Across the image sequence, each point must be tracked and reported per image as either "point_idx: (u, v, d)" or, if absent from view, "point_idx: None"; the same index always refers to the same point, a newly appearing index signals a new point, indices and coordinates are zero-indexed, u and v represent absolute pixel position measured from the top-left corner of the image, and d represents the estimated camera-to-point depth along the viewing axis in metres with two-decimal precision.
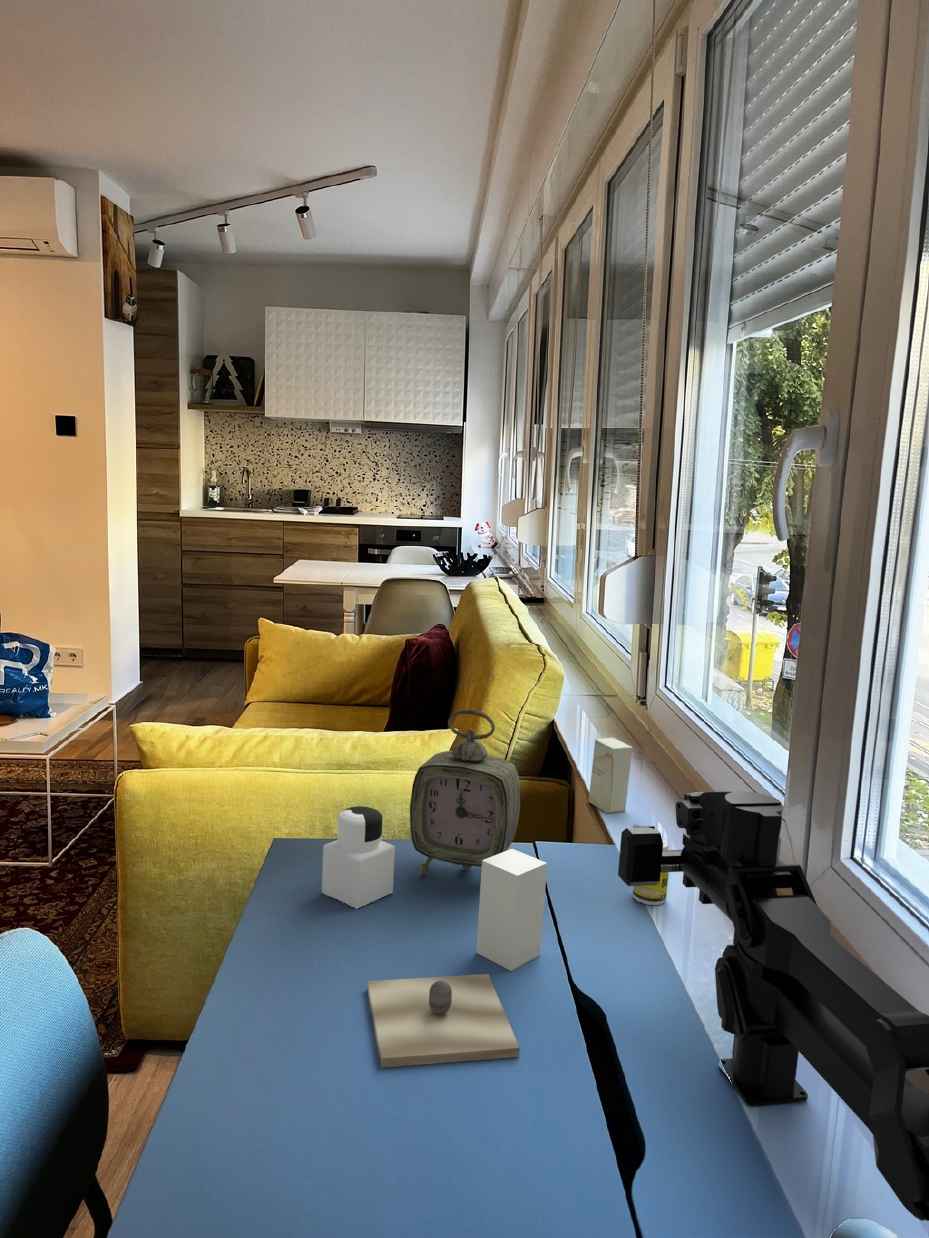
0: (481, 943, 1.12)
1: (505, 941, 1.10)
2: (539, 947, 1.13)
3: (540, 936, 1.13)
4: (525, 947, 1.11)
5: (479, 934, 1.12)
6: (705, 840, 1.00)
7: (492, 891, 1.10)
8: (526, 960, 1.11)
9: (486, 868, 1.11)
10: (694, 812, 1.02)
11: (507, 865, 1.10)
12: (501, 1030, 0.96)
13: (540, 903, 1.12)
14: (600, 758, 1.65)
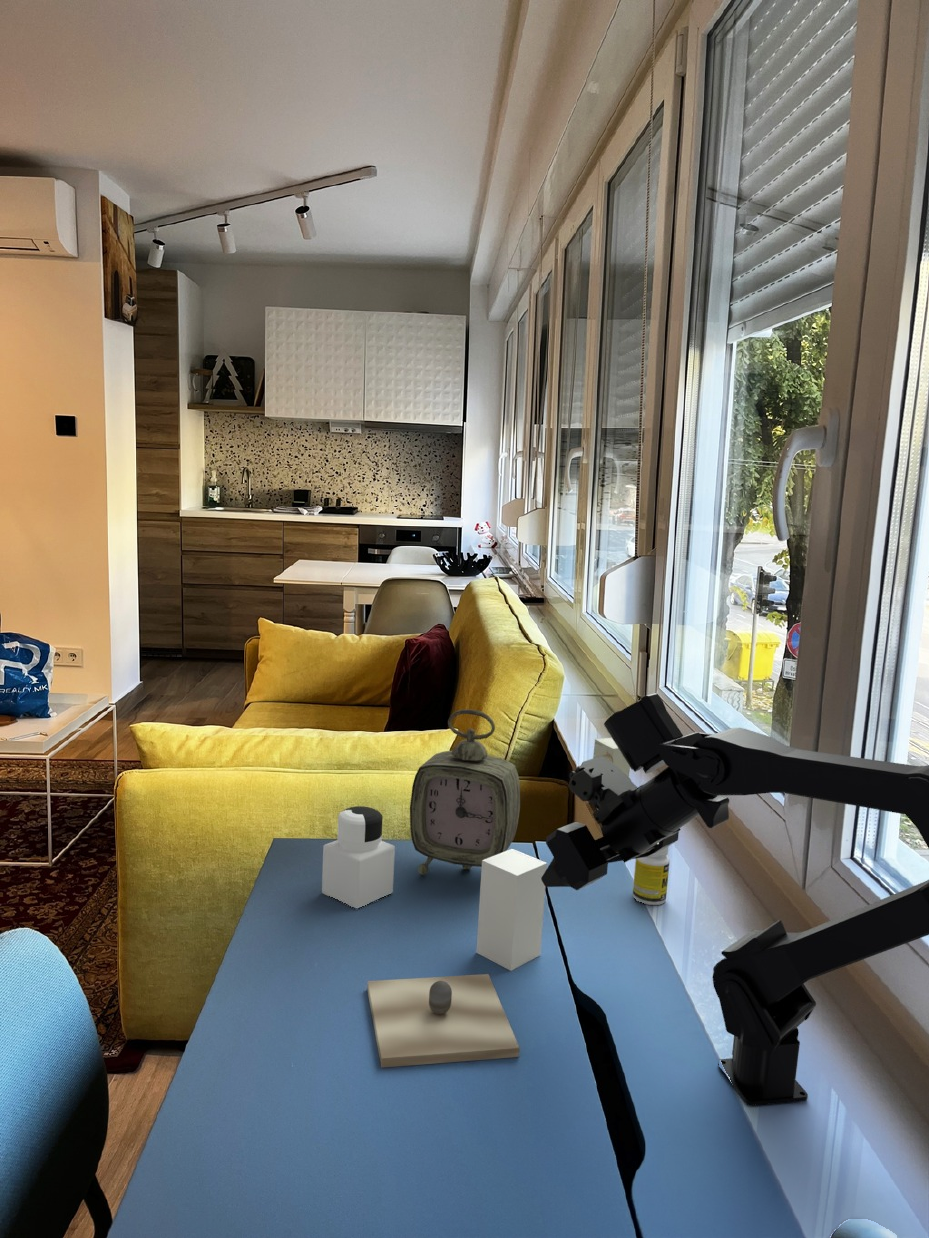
0: (481, 943, 1.12)
1: (505, 941, 1.10)
2: (539, 947, 1.13)
3: (540, 936, 1.13)
4: (525, 947, 1.11)
5: (479, 934, 1.12)
6: (615, 793, 0.98)
7: (492, 891, 1.10)
8: (526, 960, 1.11)
9: (486, 868, 1.11)
10: None
11: (507, 865, 1.10)
12: (501, 1030, 0.96)
13: (540, 903, 1.12)
14: None
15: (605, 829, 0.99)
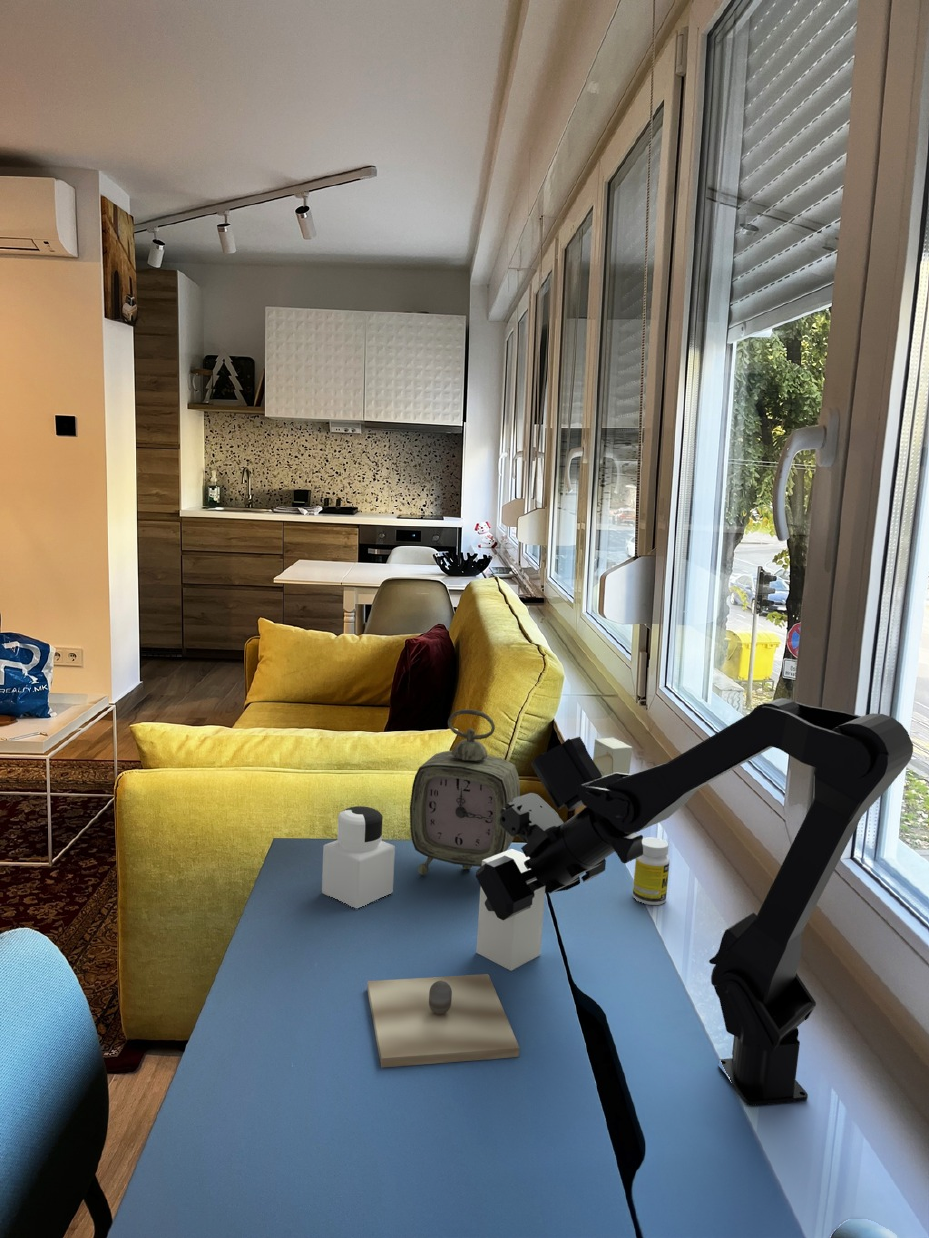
0: (481, 943, 1.12)
1: (505, 941, 1.10)
2: (539, 947, 1.13)
3: (540, 936, 1.13)
4: (525, 947, 1.11)
5: (479, 934, 1.12)
6: (541, 828, 1.06)
7: None
8: (526, 960, 1.11)
9: None
10: None
11: None
12: (501, 1030, 0.96)
13: (540, 903, 1.12)
14: (600, 758, 1.65)
15: (532, 862, 1.06)
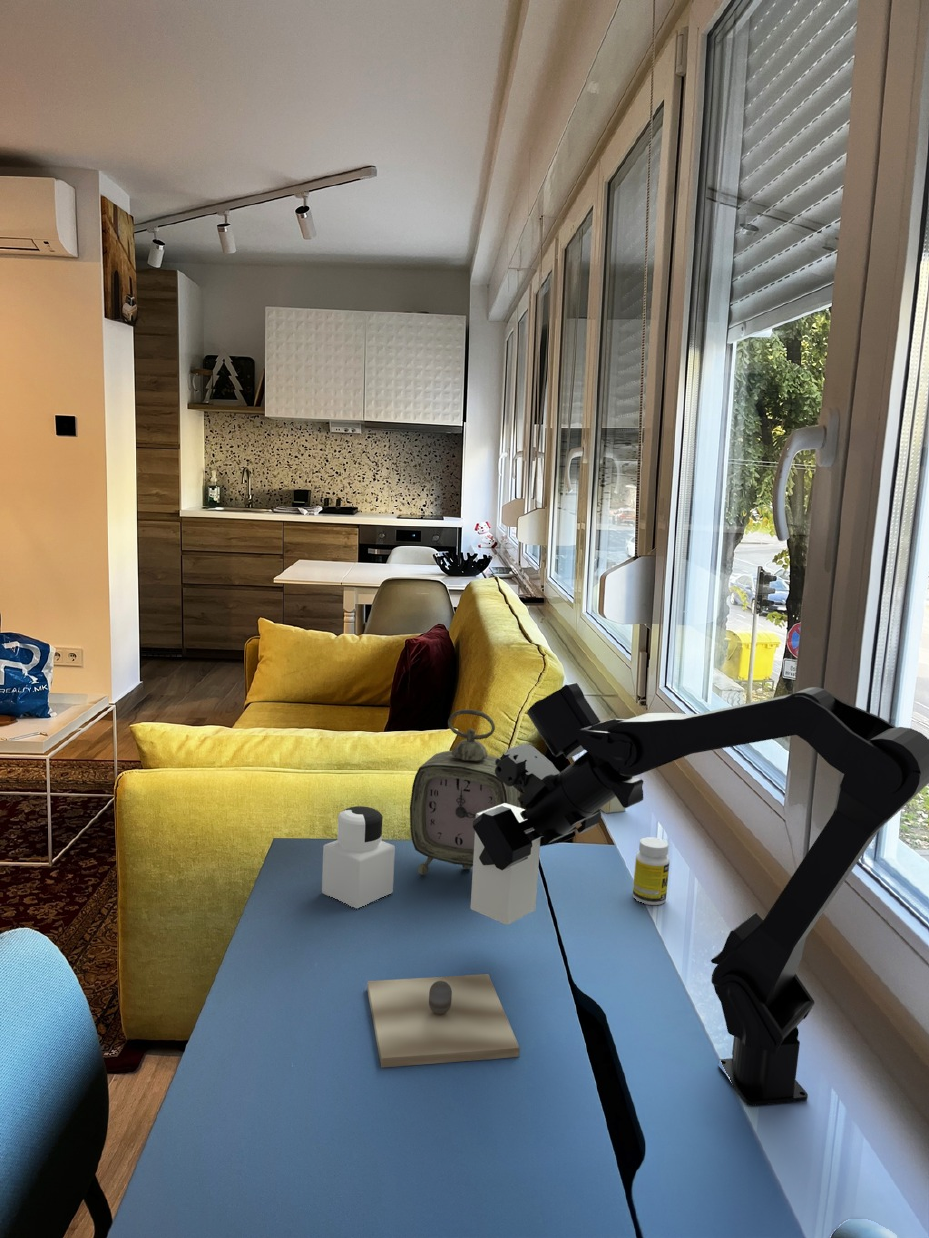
0: (475, 899, 1.10)
1: (501, 895, 1.07)
2: (534, 902, 1.11)
3: (535, 890, 1.11)
4: (521, 901, 1.09)
5: (473, 890, 1.10)
6: (538, 777, 1.04)
7: None
8: (522, 915, 1.09)
9: None
10: None
11: None
12: (501, 1030, 0.96)
13: (535, 856, 1.10)
14: None
15: (529, 812, 1.04)
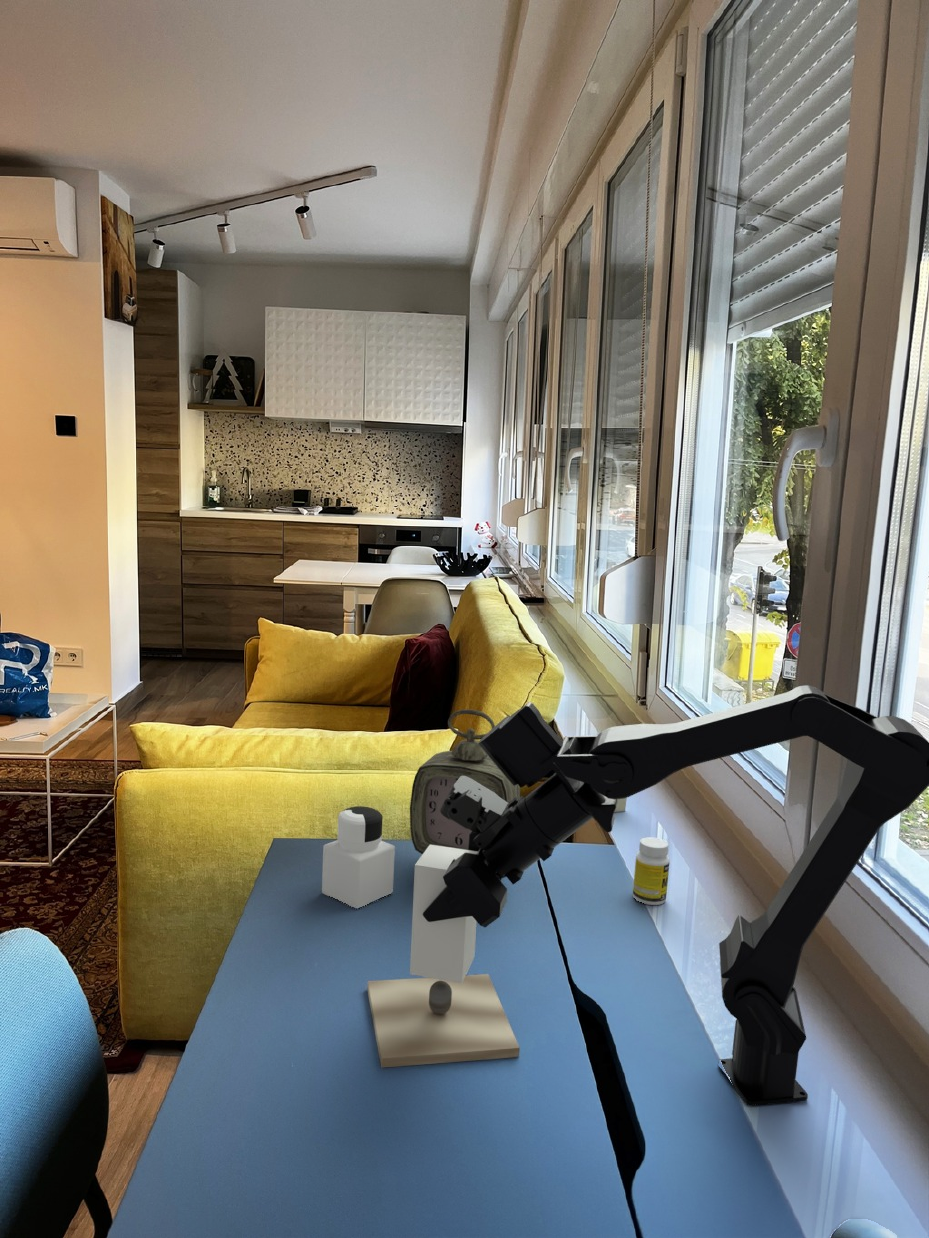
0: (417, 961, 0.95)
1: (453, 951, 0.94)
2: (474, 948, 0.99)
3: (475, 936, 0.99)
4: (468, 952, 0.96)
5: (413, 952, 0.95)
6: (496, 813, 0.92)
7: (431, 898, 0.94)
8: (468, 967, 0.97)
9: (421, 873, 0.94)
10: None
11: (446, 863, 0.94)
12: (501, 1030, 0.96)
13: None
14: None
15: (489, 853, 0.92)
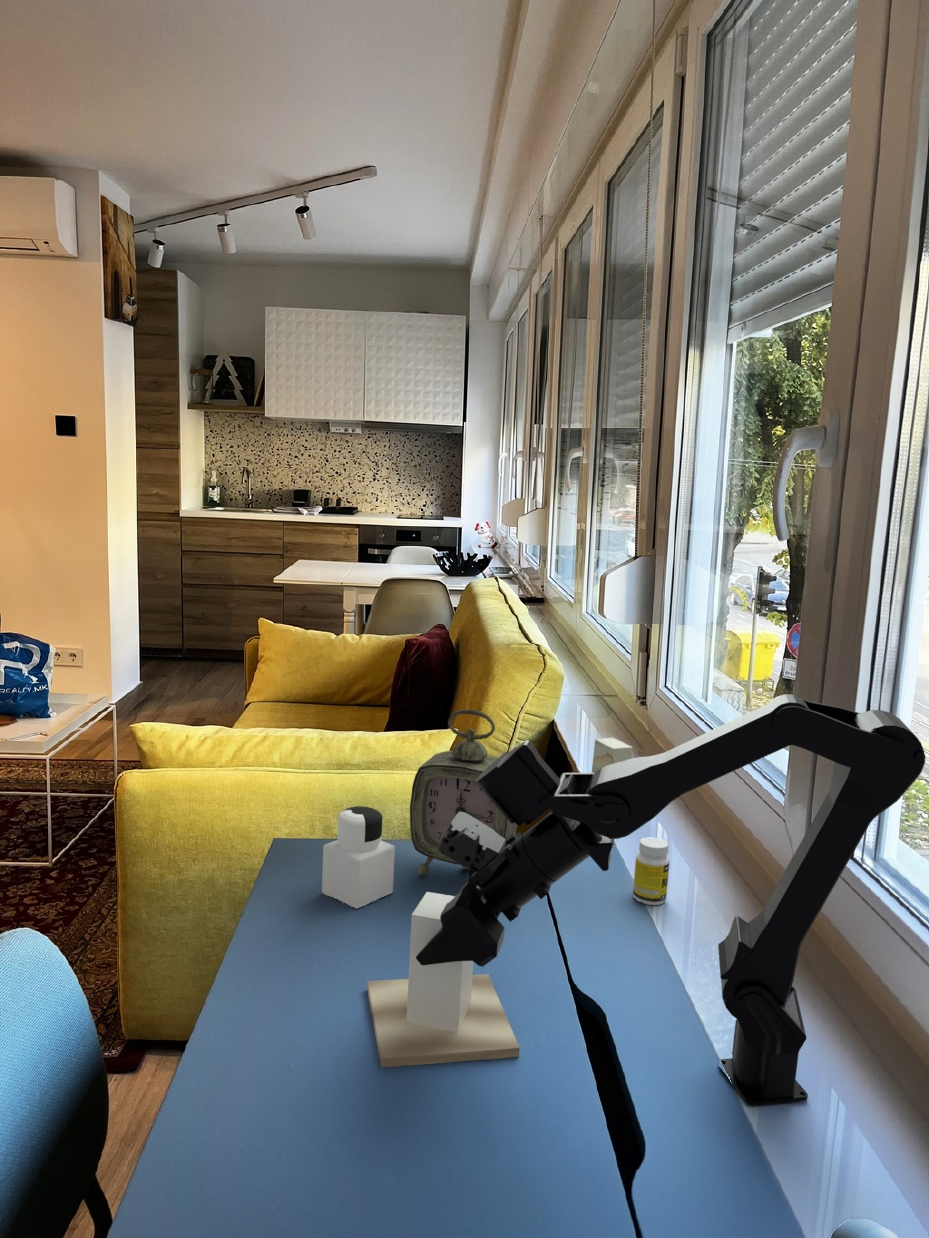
0: (413, 1010, 0.96)
1: (449, 1000, 0.95)
2: (470, 995, 1.00)
3: (471, 983, 1.00)
4: (465, 1000, 0.97)
5: (410, 1000, 0.96)
6: (493, 851, 0.92)
7: None
8: (464, 1014, 0.98)
9: (418, 922, 0.94)
10: None
11: None
12: (501, 1030, 0.96)
13: None
14: (600, 758, 1.65)
15: (486, 891, 0.92)
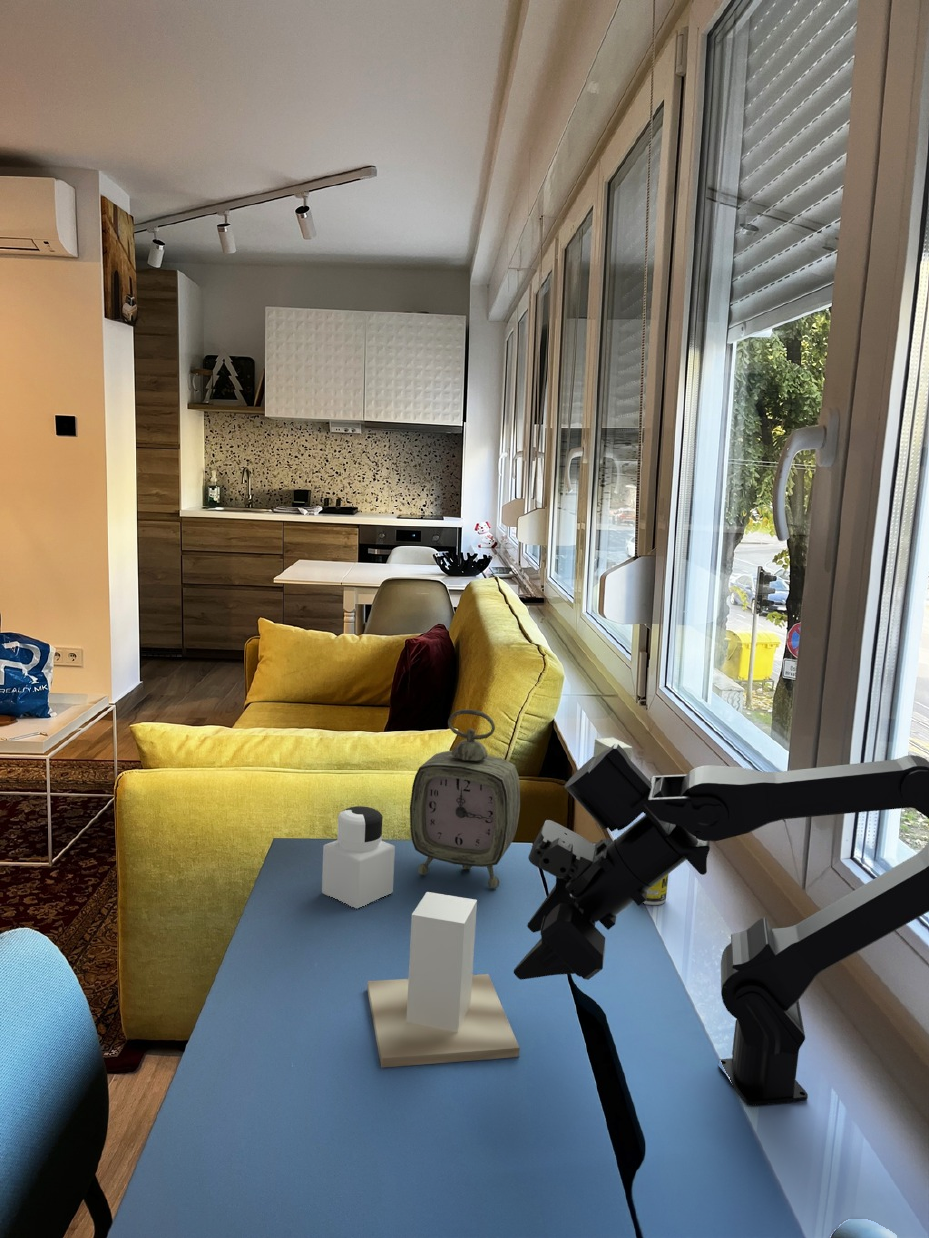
0: (413, 1010, 0.96)
1: (449, 1000, 0.95)
2: (470, 995, 1.00)
3: (471, 983, 1.00)
4: (465, 1000, 0.97)
5: (410, 1000, 0.96)
6: (587, 859, 0.90)
7: (428, 947, 0.94)
8: (464, 1014, 0.98)
9: (418, 922, 0.94)
10: None
11: (442, 913, 0.95)
12: (501, 1030, 0.96)
13: (472, 946, 0.99)
14: None
15: (582, 900, 0.90)
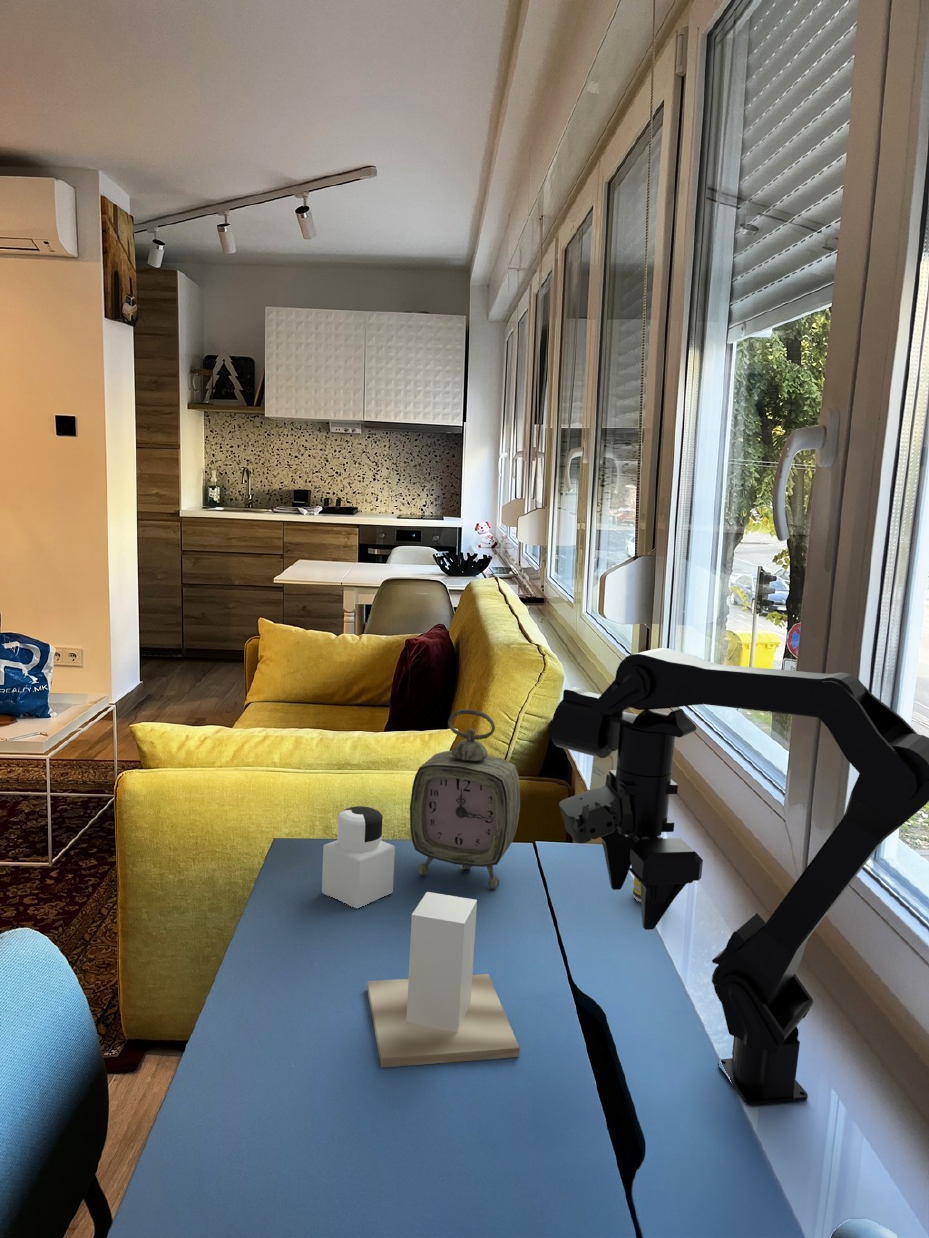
0: (413, 1010, 0.96)
1: (449, 1000, 0.95)
2: (470, 995, 1.00)
3: (471, 983, 1.00)
4: (465, 1000, 0.97)
5: (410, 1000, 0.96)
6: (615, 800, 0.94)
7: (428, 947, 0.94)
8: (464, 1014, 0.98)
9: (418, 922, 0.94)
10: None
11: (442, 913, 0.95)
12: (501, 1030, 0.96)
13: (472, 946, 0.99)
14: (600, 758, 1.65)
15: (639, 830, 0.94)
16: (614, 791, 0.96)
